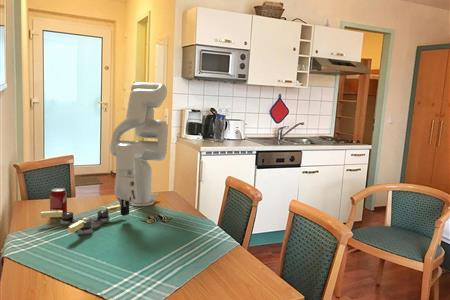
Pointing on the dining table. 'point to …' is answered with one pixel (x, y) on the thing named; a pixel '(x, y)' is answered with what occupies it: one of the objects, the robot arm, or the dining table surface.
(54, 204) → the soda can
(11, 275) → the dining table surface
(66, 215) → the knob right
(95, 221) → the tribrach
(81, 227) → the knob
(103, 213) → the knob
